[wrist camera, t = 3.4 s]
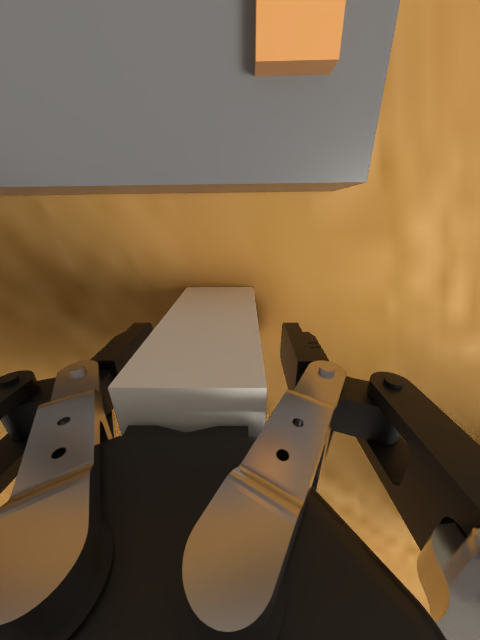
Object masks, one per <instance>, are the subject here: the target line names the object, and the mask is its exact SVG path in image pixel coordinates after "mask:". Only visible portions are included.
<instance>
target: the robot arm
mask: <svg viewBox="0 0 480 640" xmlns="http://www.w3.org/2000/svg"><path fill="white" fill-rule="evenodd" d="M152 331H153V328H152V325H151V324H150V323H134V324H133V325H132V326H131V327H130V328H129V329H128V330H127V331H126V332H123V333H121V334H119V335H117V336H115V337H114V338H113V339H112V340H111V341H110V342H109V343H108V344H107V345H106V346H105V347H104V348H103V349H101V350H100V351H99V352H98V353H97V354H96V355H95V356H94V357H93V358H92V359H91V360H85V361H79V362H76V363H73V364H70V365H68V366H66V367H65V368H63V369H62V370H60V371H59V372H58V374H57V376H56V378H51V379H45V380H40V381H37V380H36V377H35V375H34V373H33V372H32V371H27V370H25V371H17V372H13V373H9V374H6V375H4V376H1V377H0V420H1V422H2V424H3V425H4V427H5V429H6V430H7V432H8V434H7V435H6V436H4V437H3V438H2V439H1V440H0V494H1V492H2V491H3V490H4V489H5V488H6V487H7V486H8V485H9V484H10V483H11V482H12V481H13V480H14V478H15V477H16V476H17V477H16V481H15V484H14V487H13V491H12V494H11V497H10V499H9V500H8V502H7V503H5V504H4V505H2V506H1V507H0V640H480V445H478V444H477V443H476V442H475V441H474V440H473V439H472V438H471V437H470V436H469V435H468V434H467V433H465V432H464V431H463V430H462V429H461V428H460V427H459V426H458V425H457V424H456V423H455V422H453V421H452V420H451V419H450V418H449V417H448V416H447V415H446V414H445V413H444V412H443V411H442V410H440V409H439V408H438V407H437V406H436V405H435V404H434V403H433V402H432V401H431V400H430V399H428V398H427V397H426V396H425V395H424V394H423V393H422V392H421V391H420V390H419V389H418V388H417V387H415V386H414V385H413V384H412V383H411V382H410V381H408V380H407V379H405V378H403V377H401V376H399V375H396V374H393V373H389V372H376V373H373V374H372V375H371V377H370V381H364V380H359V379H354V378H350V377H347V376H346V372H345V371H344V369H343V368H342V367H340V366H339V365H337V364H335V363H333V362H330V361H329V360H328V358H327V356H326V354H325V353H324V351H323V349H322V348H321V346H320V344H318V341H317V339H316V337H315V336H313V335H312V334H310V333H309V332H302V330H301V328H300V326H299V324H298V323H283V325H282V335H281V350H280V354H281V362H282V366H283V370H284V374H285V378H286V382H287V386H288V390H287V391H286V392H285V394H284V395H283V397H282V399H281V400H280V402H279V403H278V405H277V407H276V408H275V410H274V411H273V413H272V415H271V416H270V418H269V419H268V421H267V423H266V424H265V426H264V428H263V429H262V431H261V432H260V434H259V436H258V437H257V438H255V437H251V436H248V426H215V427H210V428H205V429H201V430H196V431H191V432H182V431H178V430H174V429H170V428H166V427H162V426H158V425H128V427H127V428H126V430H125V432H124V434H123V436H119V437H116V430H115V419H114V413H113V408H114V407H113V404H112V400H111V397H110V394H109V391H108V386H109V385H110V384H111V383H112V381H113V380H114V379H115V378H116V376H117V375H118V374H119V373H120V371H121V370H122V369H123V368H124V366H125V365H126V364H127V363H128V361H129V360H130V359H131V357H132V356H133V355H134V354H135V352H136V351H137V350H138V349H139V347H140V346H141V345H142V344H143V342H144V341H145V340H146V339H147V337H148V336H149V335H150V333H151V332H152ZM334 431H336V432H340V433H344V434H347V435H351V436H355V437H356V438H357V440H358V442H359V443H360V445H361V447H362V449H363V450H364V452H365V454H366V456H367V457H368V459H369V461H370V463H371V464H372V466H373V468H374V470H375V471H376V473H377V475H378V477H379V478H380V480H381V482H382V484H383V485H384V487H385V489H386V491H387V492H388V494H389V496H390V498H391V499H392V501H393V503H394V505H395V506H396V508H397V510H398V512H399V513H400V515H401V517H402V519H403V520H404V522H405V524H406V526H407V527H408V529H409V531H410V533H411V534H412V536H413V538H414V540H415V541H416V543H417V545H418V547H419V548H420V550H421V552H420V554H419V556H418V559H417V571H418V576H419V579H420V582H421V584H422V587H423V589H424V592H425V594H426V596H427V600H428V603H429V607H430V613H431V616H430V614H429V613H428V612H427V611H426V609H425V608H424V607H423V606H422V605H421V603H420V602H419V601H418V600H417V599H416V598H415V597H414V595H413V594H412V593H411V592H410V591H409V590H408V589H407V588H406V587H405V586H404V585H403V584H402V583H401V581H400V580H399V579H398V578H397V577H396V576H395V575H394V574H393V573H392V572H391V571H390V570H389V569H388V568H387V566H386V565H385V564H384V563H383V562H382V561H381V560H380V559H379V558H378V557H377V556H376V555H375V554H374V552H373V551H372V550H371V549H370V548H369V547H368V546H367V545H366V544H365V543H364V542H363V541H362V540H361V539H360V537H359V536H358V535H357V534H356V533H355V532H354V531H353V530H352V529H351V528H350V527H349V526H348V525H347V523H346V522H345V521H344V520H343V519H342V518H341V517H340V516H339V515H338V514H337V513H336V512H335V511H334V510H333V508H332V507H331V506H330V505H329V504H328V503H327V502H326V501H325V500H324V499H323V498H322V497H321V496H320V495H319V493H318V492H317V491H318V487H319V483H320V479H321V475H322V471H323V468H324V464H325V461H326V457H327V454H328V450H329V447H330V443H331V440H332V436H333V433H334ZM400 435H401V436H400ZM401 437H402V438H403V439H404V440H405V441H404V440H403V439H402V438H401ZM405 442H406V443H407V444H406V443H405Z"/></svg>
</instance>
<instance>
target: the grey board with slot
mask: <svg viewBox="0 0 480 640" xmlns="http://www.w3.org/2000/svg"><path fill="white" fill-rule="evenodd" d="M399 3H400V0H0V195H71V194H148V193H226V192H304V191H336V190H340V189H343V188H347V187H351V186H354V185H358V184H362V183H365V182H367V178H368V172H369V167H370V161H371V156H372V150H373V145H374V140H375V134H376V129H377V123H378V118H379V112H380V107H381V101H382V96H383V91H384V85H385V80H386V74H387V69H388V63H389V58H390V52H391V47H392V42H393V36H394V31H395V25H396V20H397V14H398V9H399Z"/></svg>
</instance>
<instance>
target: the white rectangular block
mask: <svg viewBox="0 0 480 640" xmlns="http://www.w3.org/2000/svg"><path fill="white" fill-rule="evenodd" d="M108 391H109V394H110V397H111V400H112V404H113V407H114V410H115V414H116V417H117V420H118V423H119V427H120V430H121V433H122V436H123V434H124V432H125V430H126V428H127V427H128V425H158V426H162V427H166V428H170V429H174V430H178V431H182V432H191V431H196V430H201V429H205V428H210V427H215V426H248V436H251V437H255V438H257V437H258V436H259V434H260V432H261V431H262V429H263V428H264V426H265V420H266V398H267V384H266V377H265V369H264V362H263V354H262V347H261V339H260V332H259V324H258V317H257V309H256V302H255V294H254V287H187V288H186V289H185V291H184V292H183V293H182V294H181V296H180V297H179V298H178V299H177V301H176V302H175V303H174V304H173V306H172V307H171V308H170V309H169V311H168V312H167V313H166V315H165V316H164V317H163V318H162V320H161V321H160V322H159V323H158V325H157V326H156V327H155V328H154V330H153V331H152V332H151V333H150V335H149V336H148V337H147V339H146V340H145V341H144V342H143V344H142V345H141V346H140V347H139V349H138V350H137V351H136V352H135V354H134V355H133V356H132V357H131V359H130V360H129V361H128V363H127V364H126V365H125V366H124V368H123V369H122V370H121V371H120V373H119V374H118V375H117V376H116V378H115V379H114V380H113V381H112V383H111V384H110V385H109V386H108Z"/></svg>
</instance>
